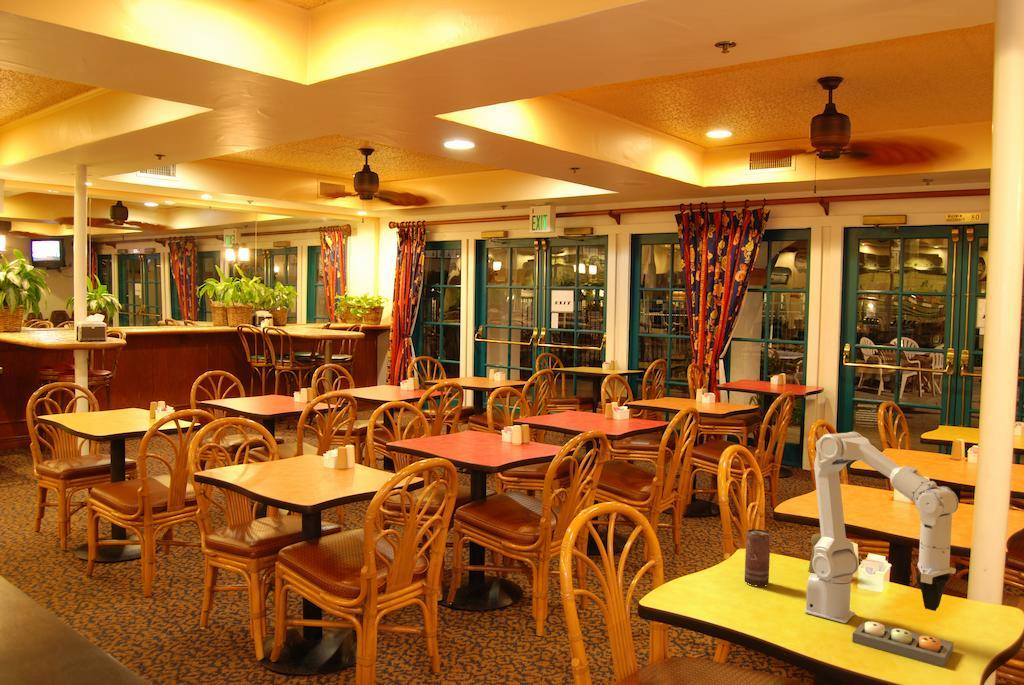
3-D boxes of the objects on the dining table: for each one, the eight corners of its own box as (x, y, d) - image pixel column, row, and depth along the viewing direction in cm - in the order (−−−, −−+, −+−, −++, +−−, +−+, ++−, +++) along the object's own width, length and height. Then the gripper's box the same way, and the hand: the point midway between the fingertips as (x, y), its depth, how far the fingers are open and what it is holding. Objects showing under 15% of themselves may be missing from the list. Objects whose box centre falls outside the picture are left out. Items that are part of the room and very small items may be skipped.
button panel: (852, 641, 172) (852, 633, 171) (864, 627, 179) (865, 619, 179) (943, 667, 160) (944, 657, 160) (953, 651, 168) (953, 642, 168)
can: (766, 589, 202) (768, 536, 202) (741, 584, 206) (743, 532, 205) (771, 582, 208) (774, 531, 207) (748, 577, 211) (750, 527, 210)
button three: (916, 649, 165) (917, 639, 165) (921, 643, 168) (921, 633, 168) (938, 655, 163) (938, 644, 163) (941, 649, 166) (942, 638, 166)
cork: (833, 578, 212) (835, 538, 212) (810, 576, 214) (811, 536, 213) (829, 571, 218) (830, 532, 218) (806, 569, 219) (808, 530, 219)
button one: (862, 634, 172) (862, 624, 172) (867, 629, 175) (867, 619, 175) (881, 640, 170) (882, 629, 169) (886, 634, 173) (886, 624, 173)
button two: (889, 642, 169) (889, 631, 168) (893, 636, 172) (894, 626, 172) (909, 647, 166) (909, 636, 166) (913, 641, 169) (914, 631, 169)
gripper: (949, 557, 156) (946, 623, 157) (962, 541, 167) (959, 603, 168) (911, 549, 161) (907, 613, 161) (926, 534, 172) (923, 594, 173)
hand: (931, 607), depth 165 cm, fingers closed
